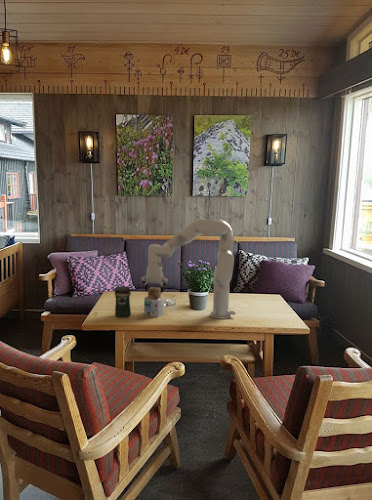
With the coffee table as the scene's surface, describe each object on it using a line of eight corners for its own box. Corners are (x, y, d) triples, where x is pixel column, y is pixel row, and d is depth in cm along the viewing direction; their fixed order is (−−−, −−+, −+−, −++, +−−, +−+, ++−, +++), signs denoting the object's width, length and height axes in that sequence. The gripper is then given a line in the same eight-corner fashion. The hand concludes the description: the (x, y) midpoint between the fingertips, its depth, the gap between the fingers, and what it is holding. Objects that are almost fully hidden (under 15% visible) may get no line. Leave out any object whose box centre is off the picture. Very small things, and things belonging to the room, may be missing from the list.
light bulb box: (143, 314, 252) (143, 297, 250) (149, 311, 258) (149, 295, 256) (158, 317, 247) (158, 300, 246) (164, 314, 253) (164, 297, 251)
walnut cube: (160, 297, 253) (160, 287, 252) (157, 299, 247) (157, 290, 246) (151, 296, 255) (151, 286, 254) (148, 298, 249) (148, 289, 248)
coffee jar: (131, 313, 253) (131, 285, 250) (130, 318, 245) (130, 288, 242) (115, 313, 252) (115, 284, 249) (114, 318, 244) (113, 288, 241)
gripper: (169, 264, 249) (169, 291, 252) (143, 262, 253) (143, 289, 256) (166, 266, 242) (165, 294, 245) (138, 264, 246) (139, 292, 249)
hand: (154, 291), depth 250 cm, fingers open, 9 cm apart
